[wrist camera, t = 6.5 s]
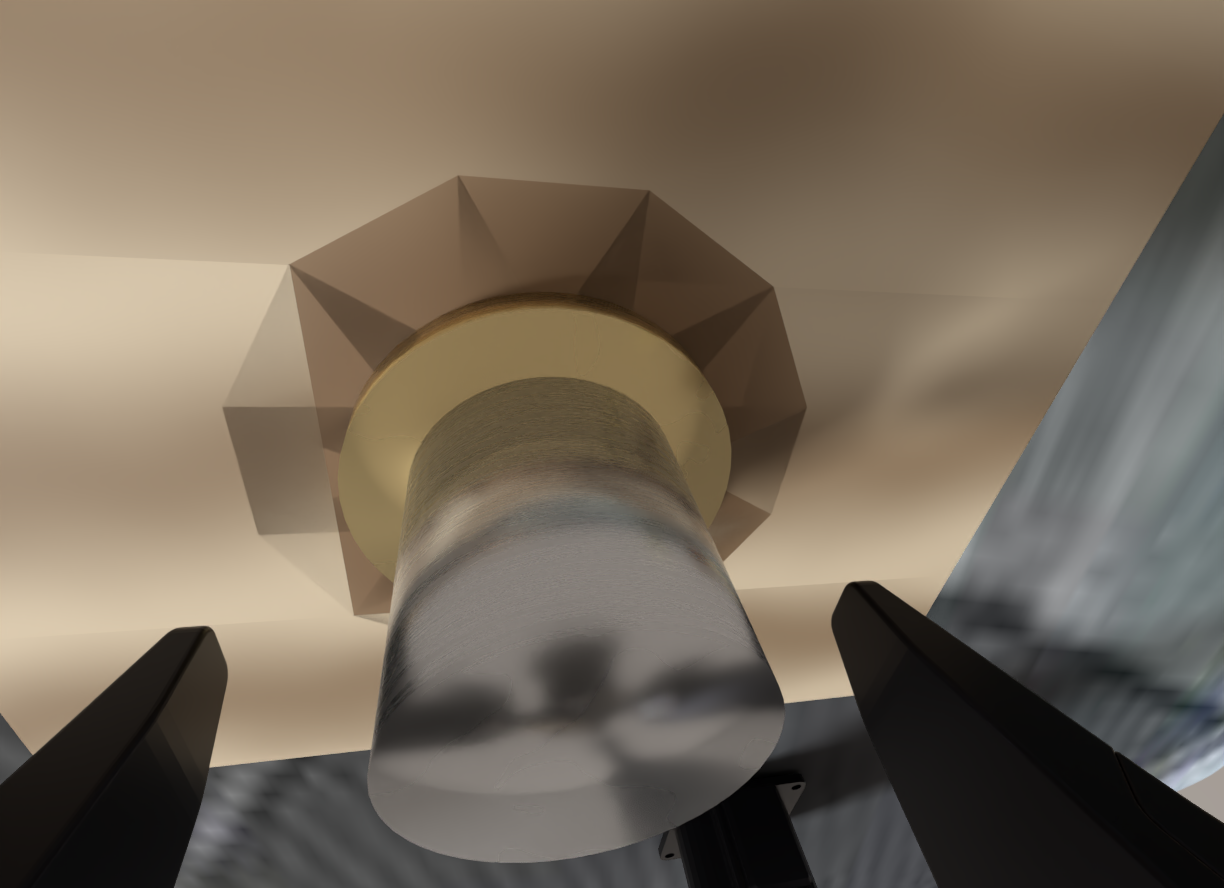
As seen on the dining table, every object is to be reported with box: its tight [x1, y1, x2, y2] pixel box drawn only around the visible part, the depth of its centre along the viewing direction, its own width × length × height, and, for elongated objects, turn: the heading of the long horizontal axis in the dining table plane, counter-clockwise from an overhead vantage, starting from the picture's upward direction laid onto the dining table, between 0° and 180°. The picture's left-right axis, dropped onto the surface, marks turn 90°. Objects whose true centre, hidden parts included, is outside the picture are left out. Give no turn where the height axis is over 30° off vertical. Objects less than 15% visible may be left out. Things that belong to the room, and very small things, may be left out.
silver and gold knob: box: [338, 292, 785, 863], centre depth 11 cm, size 7×7×9 cm
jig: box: [0, 0, 1224, 767], centre depth 13 cm, size 18×22×4 cm
